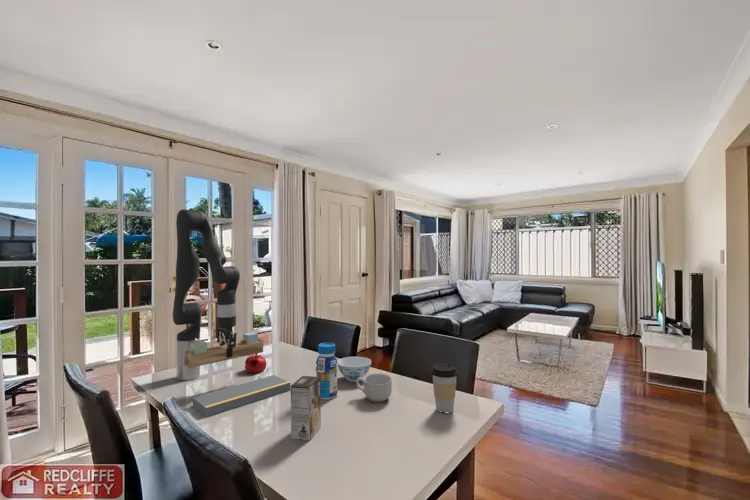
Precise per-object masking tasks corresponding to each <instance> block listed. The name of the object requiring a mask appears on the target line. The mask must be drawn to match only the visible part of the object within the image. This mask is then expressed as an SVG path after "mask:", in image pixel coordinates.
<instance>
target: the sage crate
mask: <svg viewBox="0 0 750 500" xmlns="http://www.w3.org/2000/svg"><path fill="white" fill-rule="evenodd" d="M207 348H208V342H206V341H204V340H200V341H198V342H192V343H191V344H190V352H192V353H193V354H199V353H205V352H207Z"/></svg>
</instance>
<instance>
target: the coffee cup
mask: <svg viewBox="0 0 750 500" xmlns="http://www.w3.org/2000/svg"><path fill="white" fill-rule="evenodd" d="M430 374H431V375H432V385H433V387H432V388H433V396H434V402H435V409H437V410H438V411H441V412H451V411H454V409H455V408H454V406H455V398H456V389H457V376H458V374H459V372H458V370H457V368H456V366H454V365H452V364H449V363H447V364H446V363H439V364H434V365H433V366H432V368H431V369H430ZM437 410H436V411H437ZM438 411H437V412H438ZM451 413H452V412H451Z"/></svg>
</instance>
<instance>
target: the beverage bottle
mask: <svg viewBox="0 0 750 500" xmlns="http://www.w3.org/2000/svg"><path fill="white" fill-rule="evenodd" d="M335 353H336V343H333V342H320V343H319V344H318V345H317V354H318V356H317V358H316V361H315V365H316V366H315V372H316V375H315V377H320V392H321V400H323V401H324V400H332V399H335V398H336V397H337V396H338V370H339V368H338V364H337V362H338V359H337V357H336V355H335Z"/></svg>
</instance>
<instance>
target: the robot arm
mask: <svg viewBox="0 0 750 500" xmlns="http://www.w3.org/2000/svg"><path fill="white" fill-rule="evenodd" d="M175 226H176V227H175V228H176V242H177V246H176V262H175V264H176V265H175V290H174V300H173V307H172V321H173V323H174V324H175V325H176V326H183V325H189V326H188V327H187V328H186V329H183V330H182V331H179V332H178V333H177V334H176V380H178V381H191V380H194V379H197V378H199V377H200V375H201V366H197V367H193V368H189V367H188V365H184V350H188V351H190V344H191V343H192V342H198V341H201V337H200V336H201V320H202V308H201V304H200V303H198V302H186V303H185V299H186V296H187V294H188V292H189V291H190V290H191V288H192V287H193V286H194V284H195V283H196V281H197V280H198V278H199V276H200V263H201V261H200V260H201V259H200V258H199V255H198V253H197V252H196V251H195V249H194V247H193V246H192V243H191V242H192V241H191V234H190V232H199V233H200V234H201V236H202V245H201V250H202V253H203V256H204V259H206V261H207V263H208V265H209V268H210V269H209V270H210V273H211V278H212V280H213V281H214V282H215V283H216V284H219V285H224V284H225V286H224V287H223V288H222V289H219V290H218V291H217V293H216V310H215V312H216V313H215V315H216V316H215V317H216V322H215V323H216V327H217V328H216V343H218V345H219V346H223V345H226V347H227V358H230V357H232V356H233V347H236V343H237V332H234V330H233V328H234V327H235V326H236V325H237V305H236V293H237V290H238V286H239V282H240V278H241V275H240V274H241V273H240V271H239V268H237V267H236V266H232V265H230V266H228V265H227V266H224V265H225V264H226V263H227V257H226V254H224V251H223V250H222V249H221V247H220V245H219V244H218V241H217V240H216V238H215V234H214V232H213V229H212V226H211V223H210V221H209V219H208V217H207V215H206V213H205V212H204V211H202V210H198V209H180V210H179V211H178V212H177V215H176V225H175Z"/></svg>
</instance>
